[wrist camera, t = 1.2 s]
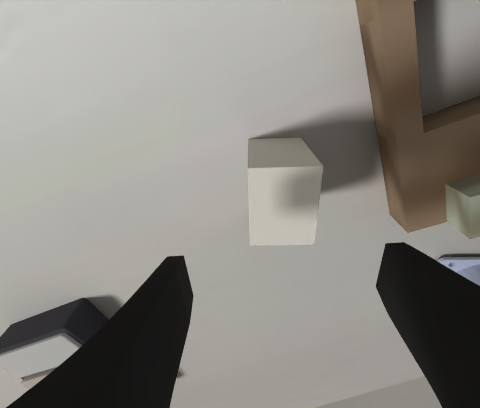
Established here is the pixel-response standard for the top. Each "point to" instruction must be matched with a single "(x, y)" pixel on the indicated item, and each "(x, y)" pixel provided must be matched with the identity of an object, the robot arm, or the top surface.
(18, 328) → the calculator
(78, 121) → the top surface
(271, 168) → the block
